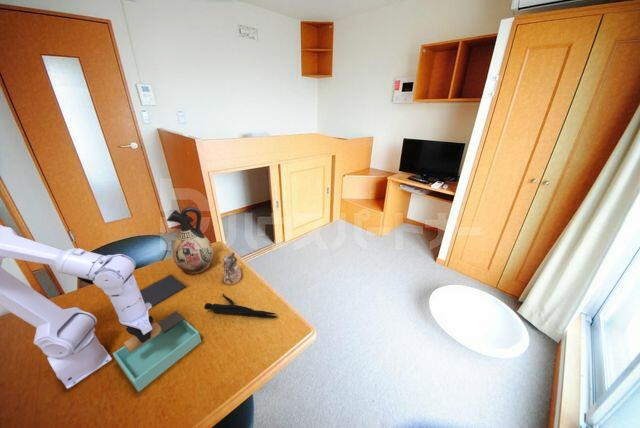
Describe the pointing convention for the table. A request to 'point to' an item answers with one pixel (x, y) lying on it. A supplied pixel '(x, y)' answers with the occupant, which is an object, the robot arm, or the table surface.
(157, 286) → the tray
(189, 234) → the ceramic jug
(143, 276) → the table surface
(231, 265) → the figurine
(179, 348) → the bin
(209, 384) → the table surface
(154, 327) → the spatula
